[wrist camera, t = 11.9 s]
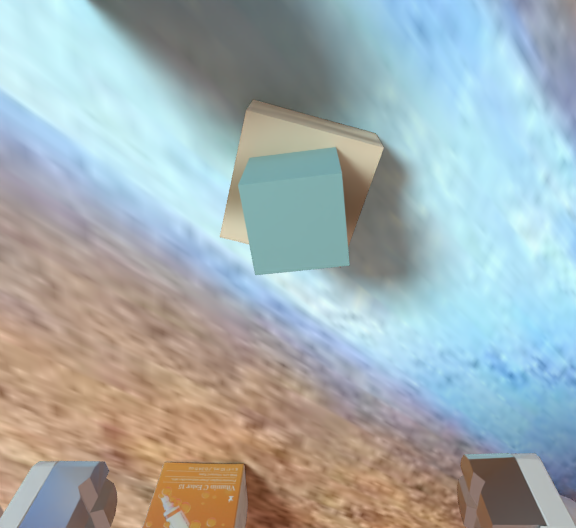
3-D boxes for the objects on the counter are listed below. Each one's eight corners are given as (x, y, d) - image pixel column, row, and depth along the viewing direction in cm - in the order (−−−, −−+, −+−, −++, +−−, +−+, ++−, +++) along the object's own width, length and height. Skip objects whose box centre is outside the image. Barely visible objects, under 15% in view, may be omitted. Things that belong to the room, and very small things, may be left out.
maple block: (253, 98, 29) (245, 109, 25) (374, 132, 29) (383, 147, 26) (229, 213, 33) (219, 236, 29) (337, 240, 33) (340, 267, 30)
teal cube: (249, 157, 27) (237, 185, 22) (335, 146, 26) (341, 172, 22) (263, 236, 29) (255, 275, 24) (342, 227, 28) (349, 265, 24)
